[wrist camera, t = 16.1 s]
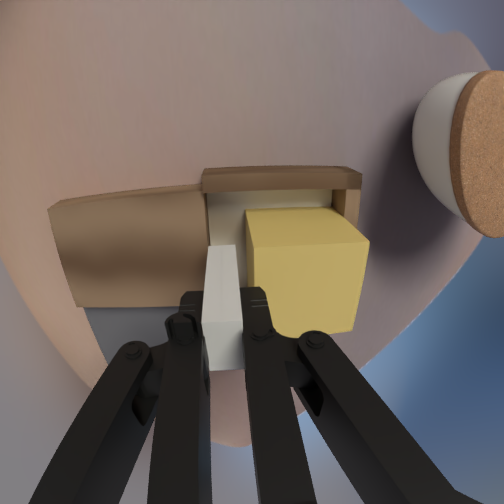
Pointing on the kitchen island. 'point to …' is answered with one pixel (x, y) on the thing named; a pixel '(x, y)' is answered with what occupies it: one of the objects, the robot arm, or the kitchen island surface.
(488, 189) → the lidded jar
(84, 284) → the brown tray
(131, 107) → the kitchen island surface
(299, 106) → the kitchen island surface
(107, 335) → the mat
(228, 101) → the kitchen island surface
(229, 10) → the kitchen island surface
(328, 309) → the block
